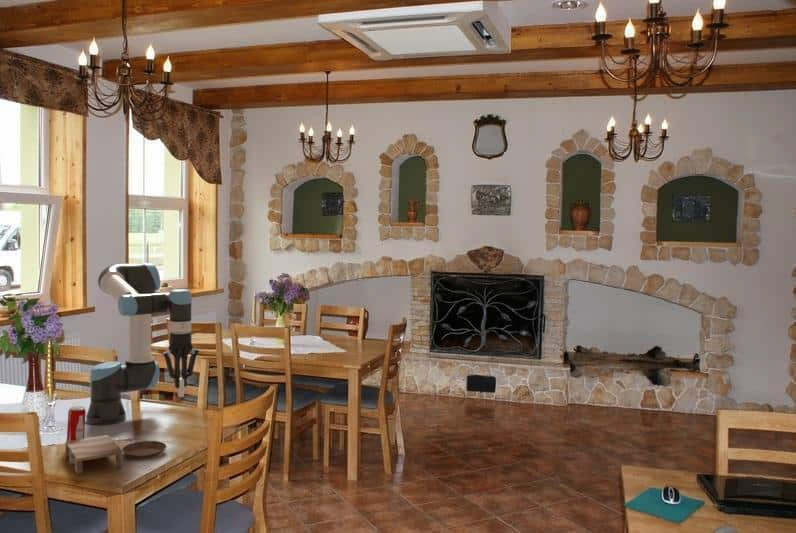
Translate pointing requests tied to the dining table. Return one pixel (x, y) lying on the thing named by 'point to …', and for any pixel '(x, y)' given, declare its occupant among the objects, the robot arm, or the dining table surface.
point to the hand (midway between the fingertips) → (180, 395)
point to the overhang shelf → (91, 451)
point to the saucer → (144, 450)
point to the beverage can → (76, 423)
